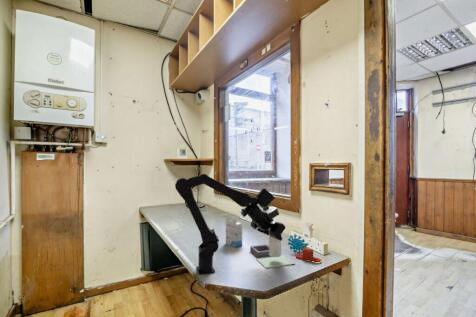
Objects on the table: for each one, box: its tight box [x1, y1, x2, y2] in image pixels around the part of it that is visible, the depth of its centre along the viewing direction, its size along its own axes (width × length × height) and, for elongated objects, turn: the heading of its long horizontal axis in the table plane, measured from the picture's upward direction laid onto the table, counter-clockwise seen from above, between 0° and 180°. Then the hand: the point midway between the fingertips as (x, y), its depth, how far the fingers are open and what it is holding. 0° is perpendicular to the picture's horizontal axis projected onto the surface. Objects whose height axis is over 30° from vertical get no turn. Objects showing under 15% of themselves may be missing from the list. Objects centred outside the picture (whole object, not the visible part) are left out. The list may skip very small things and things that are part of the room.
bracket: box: [294, 247, 322, 262], centre depth 107 cm, size 12×4×5 cm, turn 55°
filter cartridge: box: [268, 220, 282, 257], centre depth 104 cm, size 6×6×14 cm
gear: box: [287, 234, 309, 254], centre depth 118 cm, size 11×6×10 cm
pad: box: [255, 254, 296, 269], centre depth 104 cm, size 10×14×1 cm
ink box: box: [225, 216, 243, 248], centre depth 127 cm, size 9×5×15 cm, turn 45°
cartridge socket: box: [249, 244, 271, 259], centre depth 114 cm, size 9×9×2 cm
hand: (277, 238), depth 105 cm, fingers closed on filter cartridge, 5 cm apart
